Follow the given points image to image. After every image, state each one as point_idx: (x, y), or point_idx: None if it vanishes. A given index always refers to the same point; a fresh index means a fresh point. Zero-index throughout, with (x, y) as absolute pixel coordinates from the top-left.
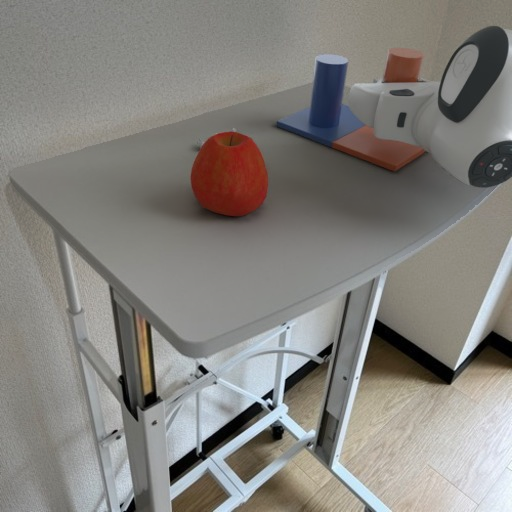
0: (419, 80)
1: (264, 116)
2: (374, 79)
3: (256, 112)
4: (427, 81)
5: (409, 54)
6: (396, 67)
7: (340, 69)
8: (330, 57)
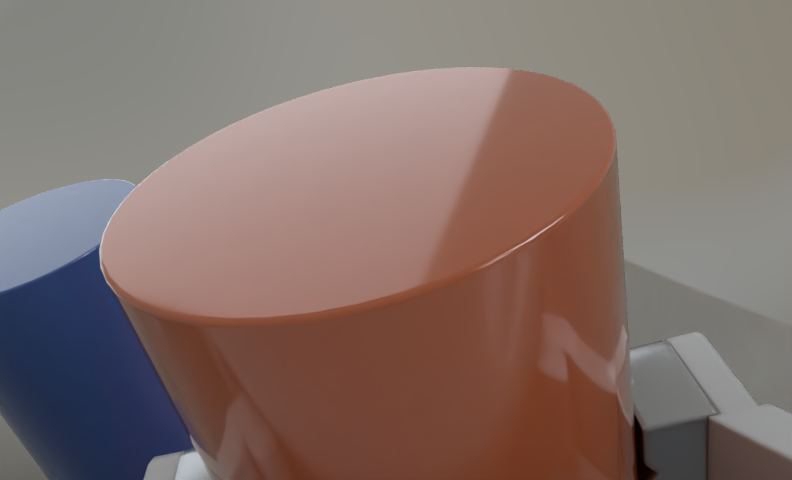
0: (659, 416)
1: (10, 463)
2: (153, 468)
3: (5, 432)
4: (769, 437)
5: (364, 198)
6: (199, 436)
7: (38, 318)
8: (45, 215)
